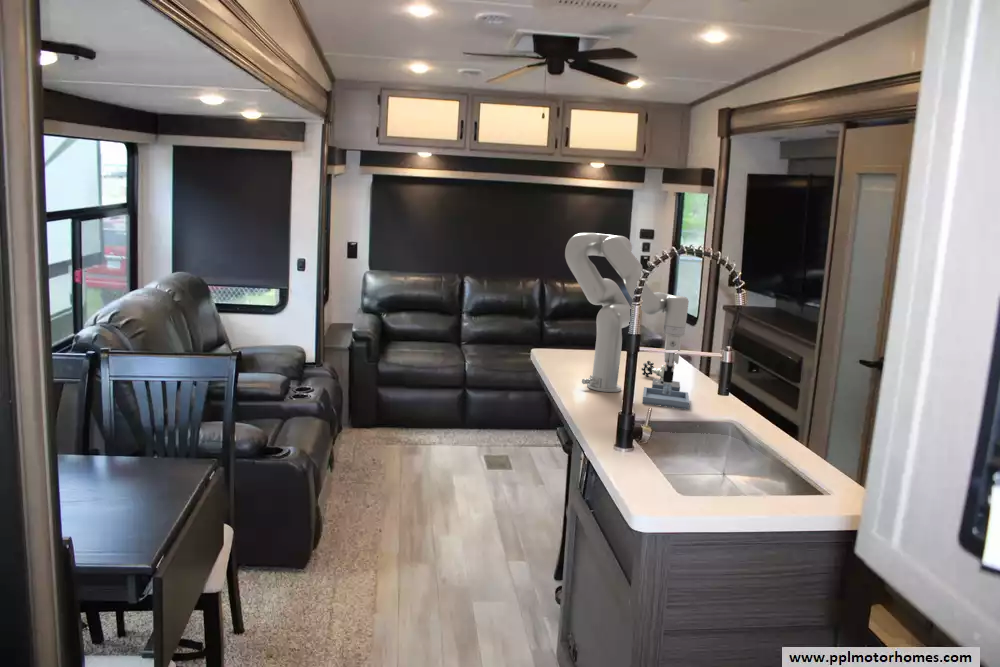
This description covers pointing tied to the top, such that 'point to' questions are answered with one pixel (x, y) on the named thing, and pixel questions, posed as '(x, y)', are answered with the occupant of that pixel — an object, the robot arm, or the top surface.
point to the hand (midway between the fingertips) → (667, 380)
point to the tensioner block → (659, 383)
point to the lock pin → (667, 386)
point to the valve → (653, 370)
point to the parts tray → (665, 398)
